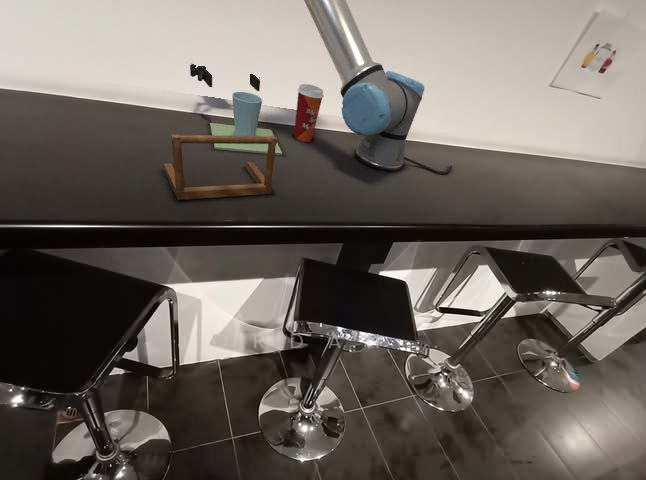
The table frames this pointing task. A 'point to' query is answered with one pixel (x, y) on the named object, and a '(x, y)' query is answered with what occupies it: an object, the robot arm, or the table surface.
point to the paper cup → (307, 111)
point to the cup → (246, 113)
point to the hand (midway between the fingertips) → (235, 83)
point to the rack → (261, 187)
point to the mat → (254, 148)
